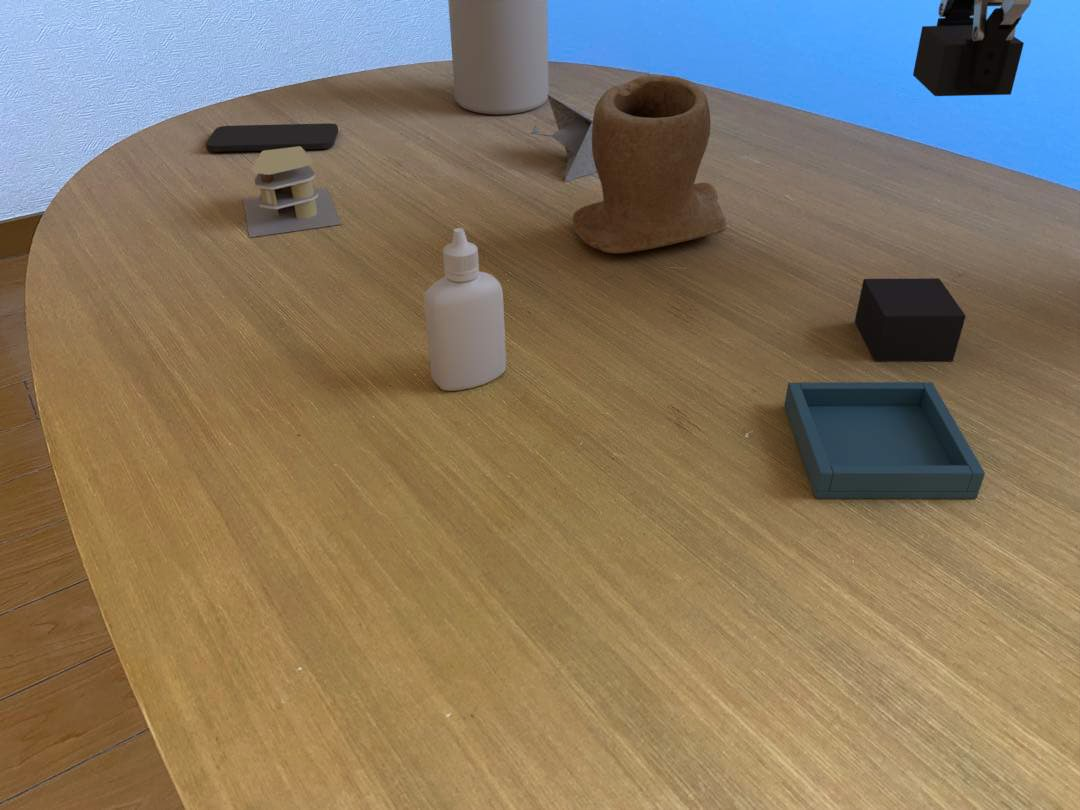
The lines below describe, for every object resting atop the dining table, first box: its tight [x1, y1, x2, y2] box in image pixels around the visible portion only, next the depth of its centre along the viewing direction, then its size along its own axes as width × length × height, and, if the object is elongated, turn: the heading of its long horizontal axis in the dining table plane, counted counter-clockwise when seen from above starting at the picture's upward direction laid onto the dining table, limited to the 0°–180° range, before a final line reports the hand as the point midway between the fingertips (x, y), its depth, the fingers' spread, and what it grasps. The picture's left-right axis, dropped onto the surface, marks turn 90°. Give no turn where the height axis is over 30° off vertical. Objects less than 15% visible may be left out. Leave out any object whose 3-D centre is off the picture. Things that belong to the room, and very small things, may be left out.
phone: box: [205, 122, 339, 153], centre depth 114 cm, size 7×1×15 cm
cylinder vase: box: [447, 0, 549, 115], centre depth 119 cm, size 12×12×25 cm
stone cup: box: [571, 74, 727, 254], centre depth 86 cm, size 15×12×15 cm
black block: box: [854, 277, 966, 362], centre depth 73 cm, size 6×6×4 cm
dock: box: [783, 381, 986, 500], centre depth 62 cm, size 10×10×2 cm
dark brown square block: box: [912, 25, 1025, 97], centre depth 76 cm, size 6×6×4 cm
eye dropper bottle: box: [423, 227, 507, 392], centre depth 68 cm, size 4×6×12 cm
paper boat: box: [530, 94, 597, 183], centre depth 105 cm, size 12×6×9 cm
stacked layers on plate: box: [242, 146, 342, 238], centre depth 95 cm, size 10×9×6 cm
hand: (962, 77), depth 77 cm, fingers closed on dark brown square block, 6 cm apart
